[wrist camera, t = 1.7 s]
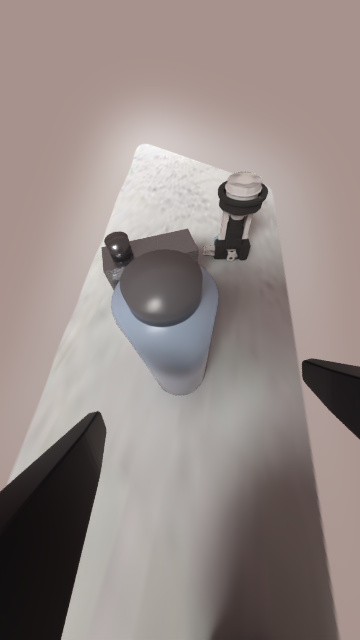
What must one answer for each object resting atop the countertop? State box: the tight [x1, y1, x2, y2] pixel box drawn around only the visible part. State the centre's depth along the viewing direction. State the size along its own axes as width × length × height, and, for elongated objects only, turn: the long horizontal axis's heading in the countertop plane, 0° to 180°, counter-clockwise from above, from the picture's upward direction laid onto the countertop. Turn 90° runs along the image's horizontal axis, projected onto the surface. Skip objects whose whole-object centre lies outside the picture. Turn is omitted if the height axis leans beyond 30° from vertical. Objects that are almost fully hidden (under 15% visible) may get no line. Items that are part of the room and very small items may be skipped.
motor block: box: [102, 229, 198, 337], centre depth 22 cm, size 9×10×8 cm
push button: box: [203, 172, 268, 261], centre depth 25 cm, size 7×5×10 cm
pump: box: [111, 249, 219, 395], centre depth 14 cm, size 5×5×14 cm
